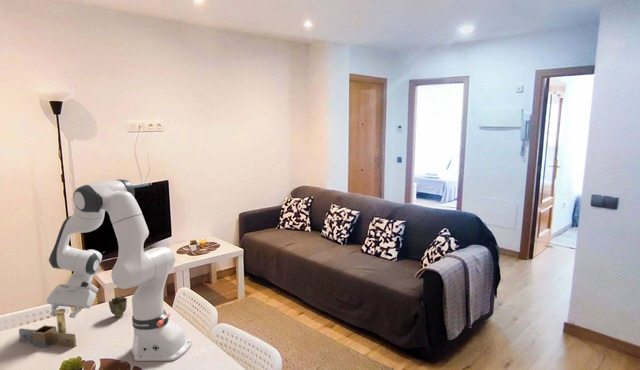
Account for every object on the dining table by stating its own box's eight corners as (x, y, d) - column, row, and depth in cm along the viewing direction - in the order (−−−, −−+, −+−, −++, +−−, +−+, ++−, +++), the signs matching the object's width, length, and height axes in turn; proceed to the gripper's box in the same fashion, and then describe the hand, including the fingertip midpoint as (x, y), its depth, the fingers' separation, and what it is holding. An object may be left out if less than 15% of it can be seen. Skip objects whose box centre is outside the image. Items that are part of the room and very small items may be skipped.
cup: (120, 321, 173) (118, 304, 172) (106, 319, 174) (104, 302, 173) (131, 313, 180) (130, 297, 179) (117, 311, 182) (116, 295, 180)
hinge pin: (69, 331, 165) (67, 309, 163) (62, 335, 161) (60, 313, 160) (62, 330, 165) (59, 308, 164) (55, 334, 162) (52, 312, 160)
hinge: (81, 342, 156) (79, 328, 155) (69, 350, 150) (68, 336, 149) (27, 336, 160) (25, 323, 160) (14, 344, 155) (13, 330, 154)
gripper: (53, 281, 170) (35, 312, 162) (93, 284, 167) (77, 316, 159) (62, 286, 175) (46, 316, 167) (102, 289, 172) (87, 321, 164)
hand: (62, 316), depth 163 cm, fingers open, 8 cm apart
